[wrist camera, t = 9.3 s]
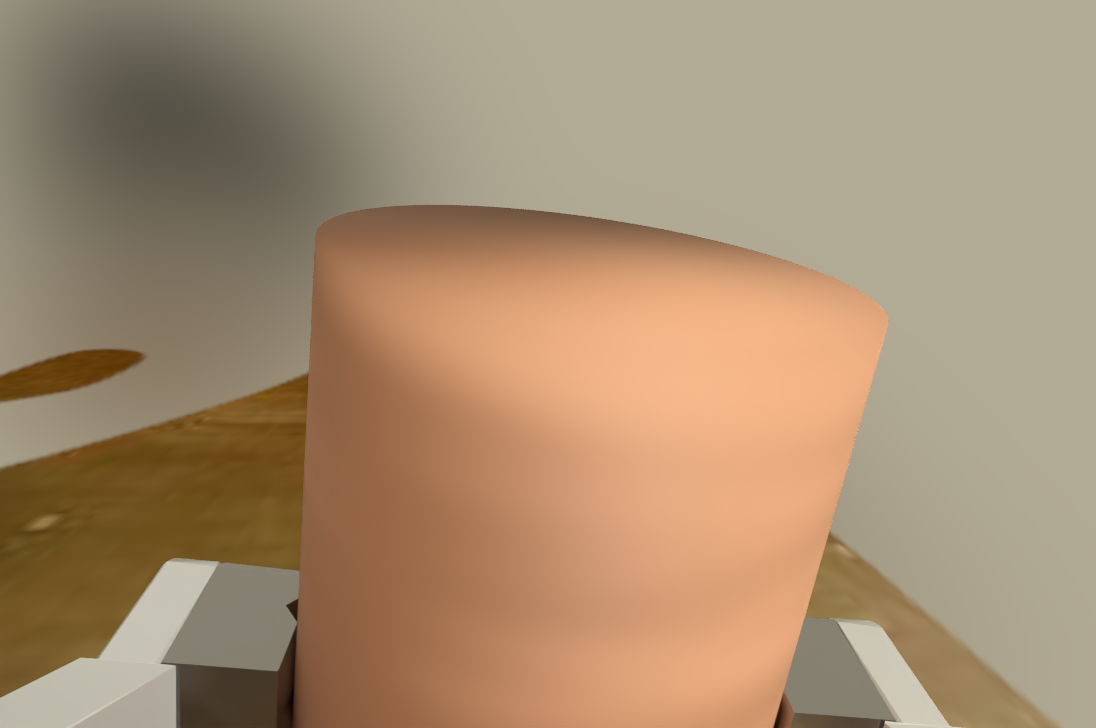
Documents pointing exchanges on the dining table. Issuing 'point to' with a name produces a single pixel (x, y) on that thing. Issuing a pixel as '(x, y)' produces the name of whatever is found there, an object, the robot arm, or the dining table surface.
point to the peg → (565, 470)
